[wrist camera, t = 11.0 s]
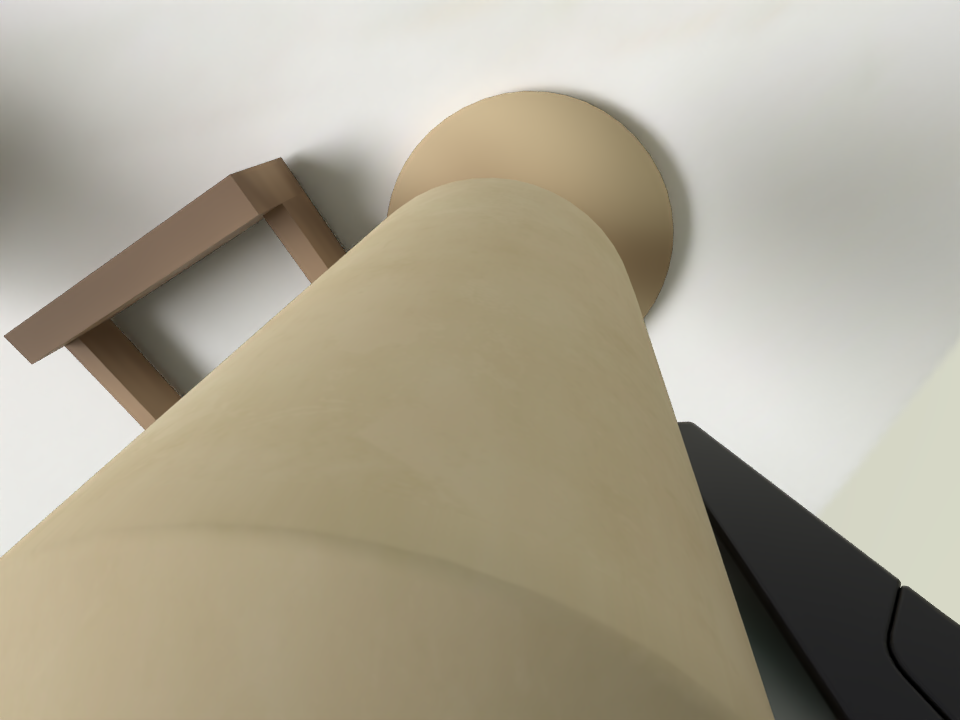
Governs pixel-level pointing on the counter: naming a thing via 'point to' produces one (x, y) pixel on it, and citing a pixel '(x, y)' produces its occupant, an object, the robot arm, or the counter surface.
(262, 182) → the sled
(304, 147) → the counter surface
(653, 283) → the coaster
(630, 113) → the counter surface
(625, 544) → the candle
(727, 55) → the counter surface
